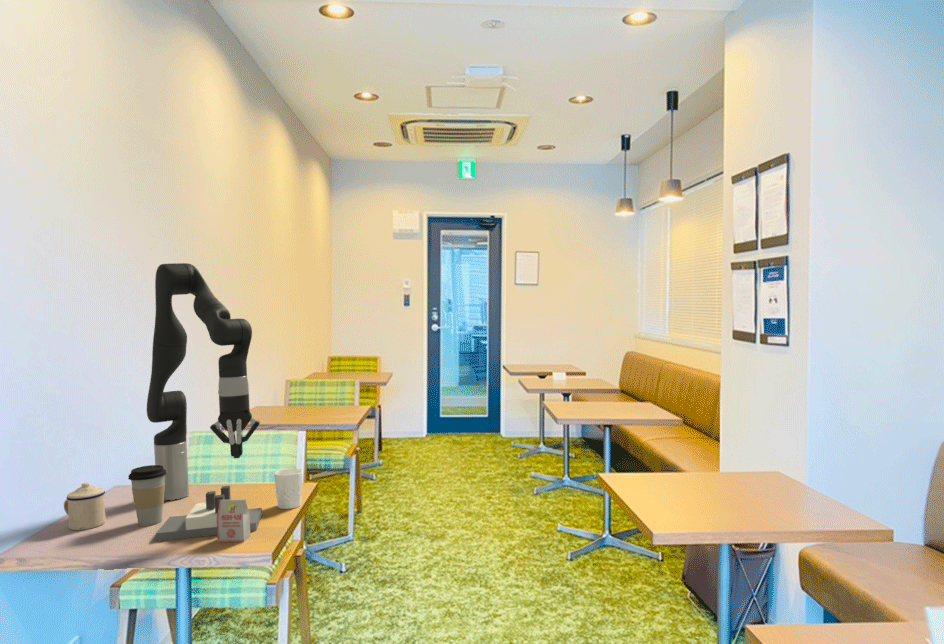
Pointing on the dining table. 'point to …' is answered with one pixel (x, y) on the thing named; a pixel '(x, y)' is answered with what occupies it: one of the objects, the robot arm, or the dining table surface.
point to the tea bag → (233, 521)
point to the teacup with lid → (85, 507)
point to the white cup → (288, 488)
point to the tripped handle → (210, 500)
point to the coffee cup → (148, 493)
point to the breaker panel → (180, 527)
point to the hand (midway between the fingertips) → (236, 457)
